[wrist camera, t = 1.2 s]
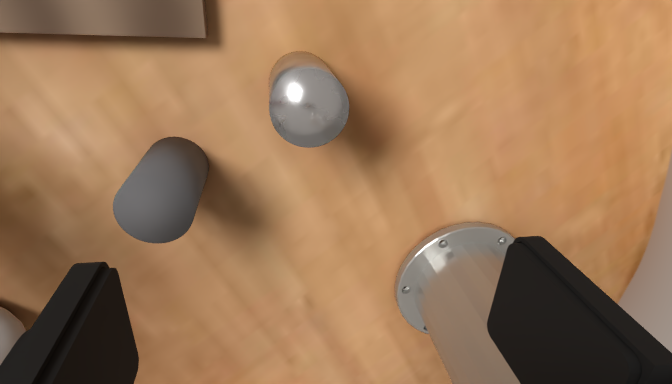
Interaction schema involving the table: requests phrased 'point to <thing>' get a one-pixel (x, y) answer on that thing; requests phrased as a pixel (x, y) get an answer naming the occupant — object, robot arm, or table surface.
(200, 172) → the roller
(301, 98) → the steel roller
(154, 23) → the socket board
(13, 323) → the donut
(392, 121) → the table surface
